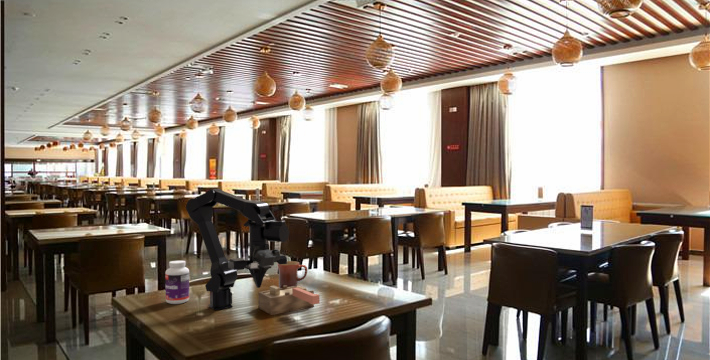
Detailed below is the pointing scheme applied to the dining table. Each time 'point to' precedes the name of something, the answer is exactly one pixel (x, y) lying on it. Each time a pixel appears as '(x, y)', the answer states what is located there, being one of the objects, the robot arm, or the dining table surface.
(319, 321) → the dining table surface
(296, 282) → the mug
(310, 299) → the salmon pink rectangular bar
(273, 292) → the sliding box lid
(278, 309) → the toolbox
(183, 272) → the pill bottle
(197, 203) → the robot arm
